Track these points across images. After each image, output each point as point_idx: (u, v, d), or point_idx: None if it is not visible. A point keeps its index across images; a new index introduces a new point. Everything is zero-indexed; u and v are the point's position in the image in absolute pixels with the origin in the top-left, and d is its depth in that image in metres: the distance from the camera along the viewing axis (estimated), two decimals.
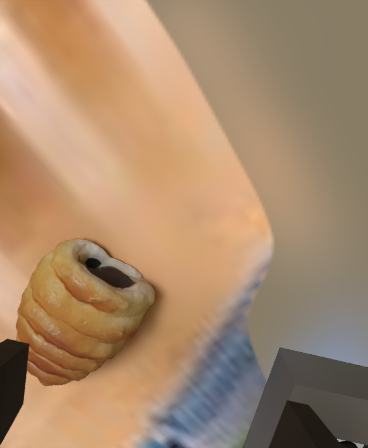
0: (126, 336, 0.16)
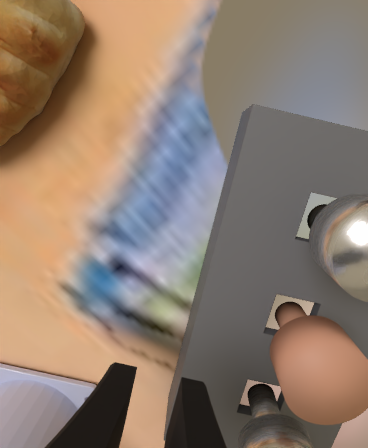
0: (39, 45, 0.12)
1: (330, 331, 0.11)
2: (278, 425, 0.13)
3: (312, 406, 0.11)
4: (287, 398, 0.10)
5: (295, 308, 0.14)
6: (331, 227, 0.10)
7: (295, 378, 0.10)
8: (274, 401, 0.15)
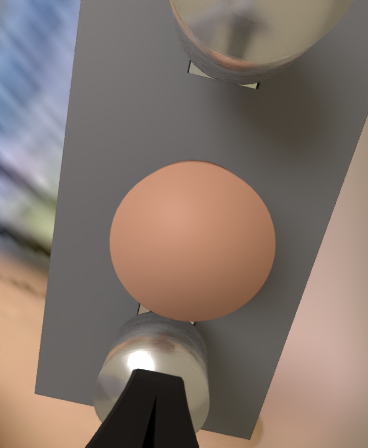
0: None
1: (204, 163, 0.06)
2: (155, 321, 0.09)
3: (166, 286, 0.06)
4: (119, 270, 0.06)
5: None
6: None
7: (128, 230, 0.06)
8: None
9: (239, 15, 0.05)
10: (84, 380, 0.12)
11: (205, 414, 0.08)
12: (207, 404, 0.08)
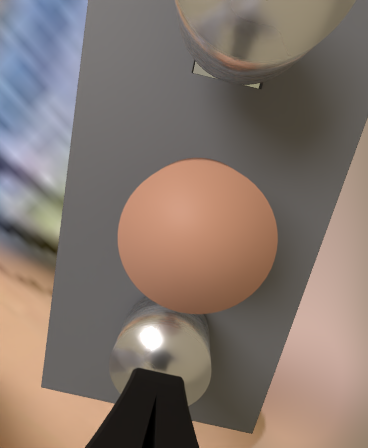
0: None
1: (209, 161, 0.07)
2: None
3: (172, 280, 0.06)
4: (127, 264, 0.06)
5: None
6: None
7: (135, 225, 0.06)
8: None
9: (243, 18, 0.05)
10: (89, 374, 0.12)
11: (207, 381, 0.09)
12: (209, 372, 0.09)
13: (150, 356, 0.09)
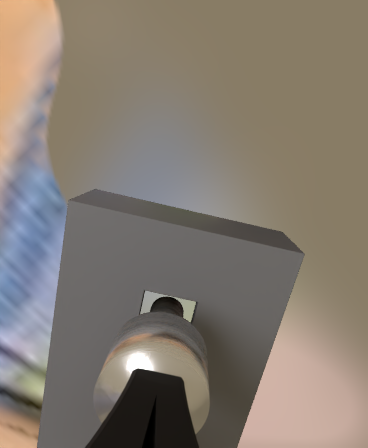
0: None
1: None
2: None
3: None
4: None
5: None
6: (105, 362, 0.09)
7: None
8: None
9: None
10: None
11: None
12: None
13: None
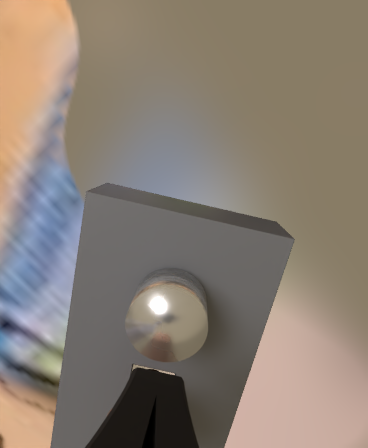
0: None
1: None
2: None
3: None
4: None
5: None
6: (132, 300, 0.12)
7: None
8: None
9: (157, 348, 0.12)
10: None
11: None
12: None
13: None
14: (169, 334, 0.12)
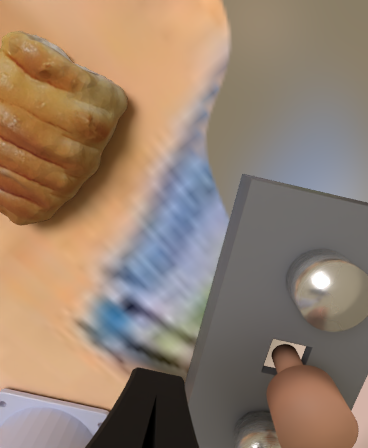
0: (95, 129, 0.14)
1: (318, 382, 0.13)
2: (264, 420, 0.16)
3: None
4: (281, 441, 0.12)
5: (289, 351, 0.16)
6: (299, 276, 0.13)
7: (287, 425, 0.12)
8: None
9: (325, 318, 0.13)
10: None
11: None
12: None
13: None
14: (338, 305, 0.13)
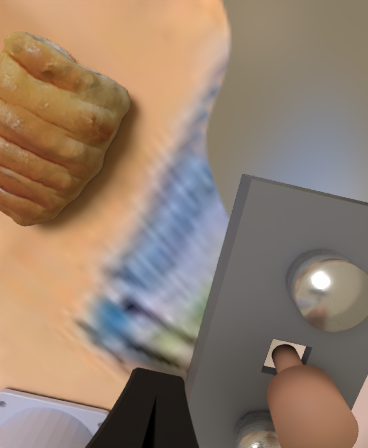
0: (98, 129, 0.14)
1: (318, 382, 0.13)
2: (264, 420, 0.16)
3: None
4: (281, 441, 0.12)
5: (289, 351, 0.16)
6: (299, 276, 0.13)
7: (287, 425, 0.12)
8: None
9: (325, 318, 0.13)
10: None
11: None
12: None
13: None
14: (338, 305, 0.13)
